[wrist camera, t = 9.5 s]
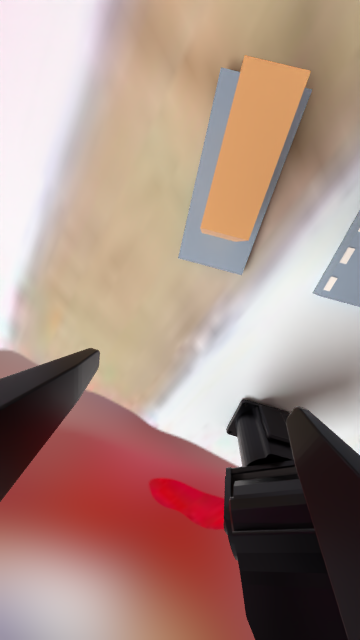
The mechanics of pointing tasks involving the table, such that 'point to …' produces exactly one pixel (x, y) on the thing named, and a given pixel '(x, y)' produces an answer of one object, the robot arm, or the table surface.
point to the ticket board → (344, 270)
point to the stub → (242, 160)
